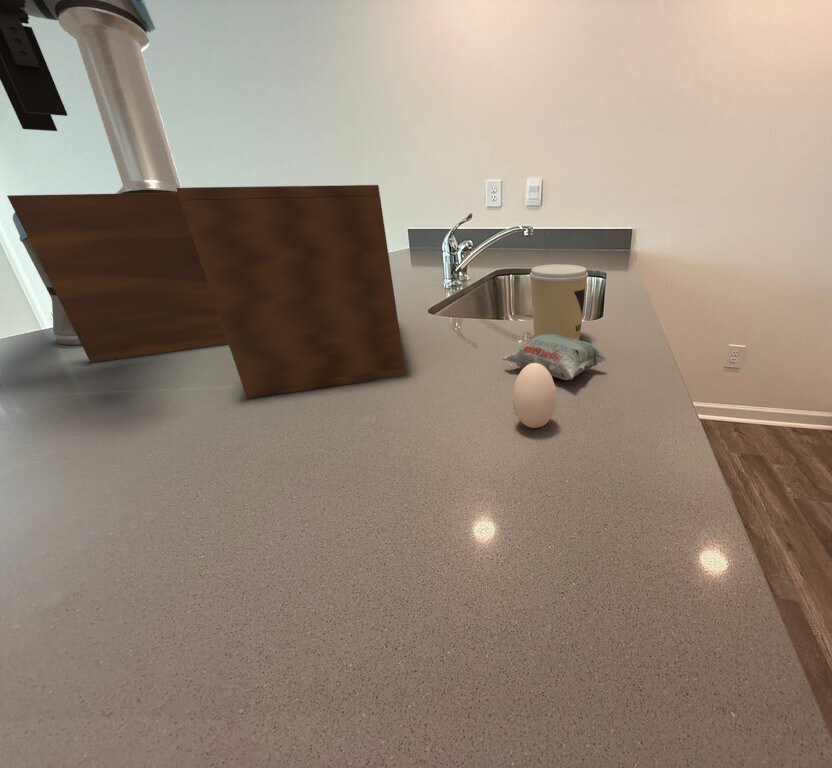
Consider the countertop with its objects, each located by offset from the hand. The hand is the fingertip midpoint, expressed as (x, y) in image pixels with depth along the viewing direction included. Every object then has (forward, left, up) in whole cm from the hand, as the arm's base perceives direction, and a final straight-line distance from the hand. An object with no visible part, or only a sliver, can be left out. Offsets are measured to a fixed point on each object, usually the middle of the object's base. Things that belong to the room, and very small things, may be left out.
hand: (43, 123), depth 42 cm
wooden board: (+6, +22, -31) cm, 38 cm away
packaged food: (+38, +38, -31) cm, 62 cm away
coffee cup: (+30, +50, -31) cm, 66 cm away
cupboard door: (-19, +8, -31) cm, 37 cm away
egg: (+45, +25, -31) cm, 60 cm away
